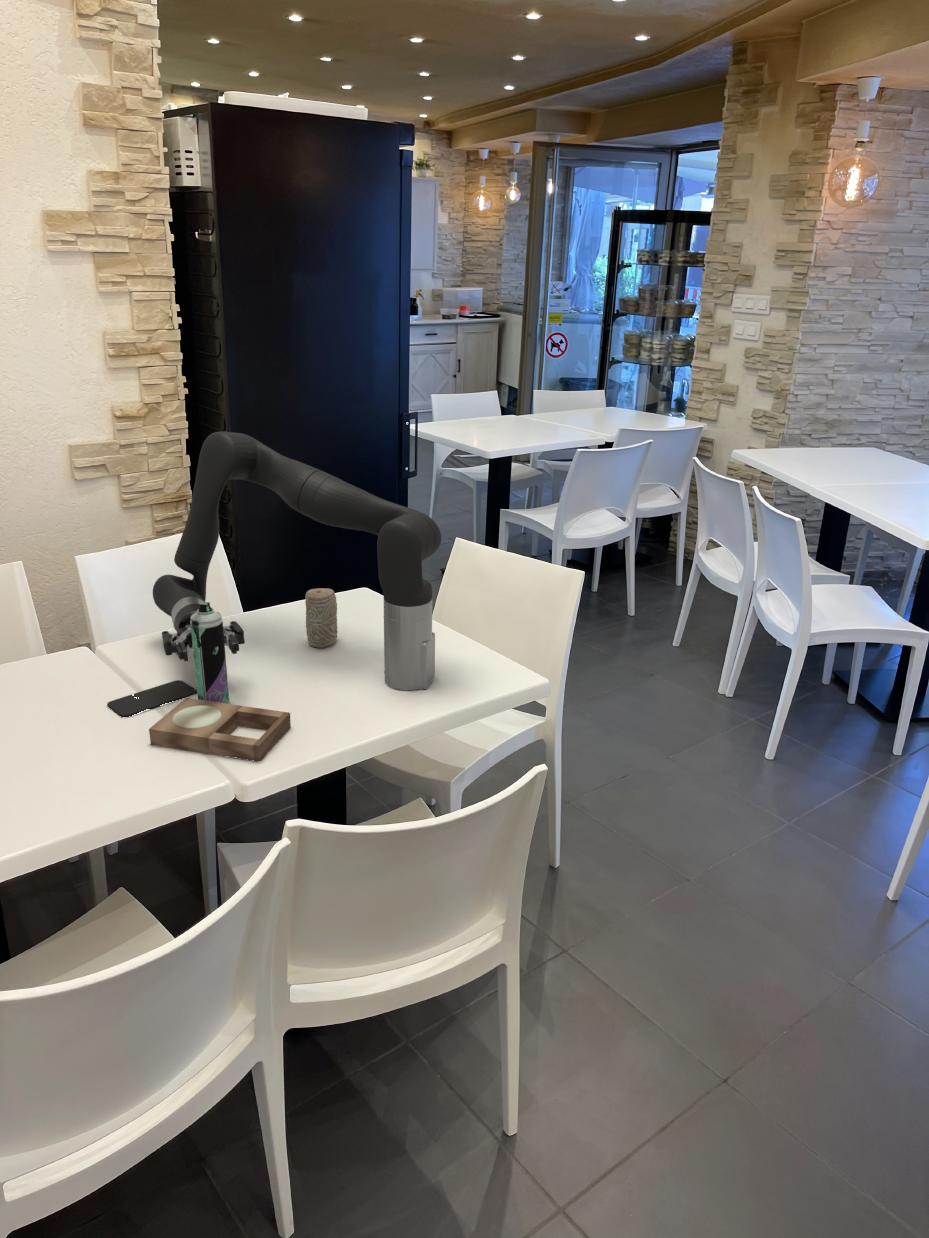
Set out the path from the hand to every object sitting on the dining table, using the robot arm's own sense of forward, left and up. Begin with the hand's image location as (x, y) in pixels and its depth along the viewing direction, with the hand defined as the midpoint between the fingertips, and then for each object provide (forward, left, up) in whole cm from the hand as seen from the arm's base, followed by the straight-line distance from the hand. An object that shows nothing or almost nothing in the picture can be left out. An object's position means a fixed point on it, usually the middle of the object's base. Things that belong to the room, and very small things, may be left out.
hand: (210, 652), depth 160 cm
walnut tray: (-6, +9, -11) cm, 16 cm away
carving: (-7, -33, -11) cm, 35 cm away
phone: (+13, 0, -12) cm, 17 cm away
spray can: (+1, -1, -11) cm, 11 cm away
